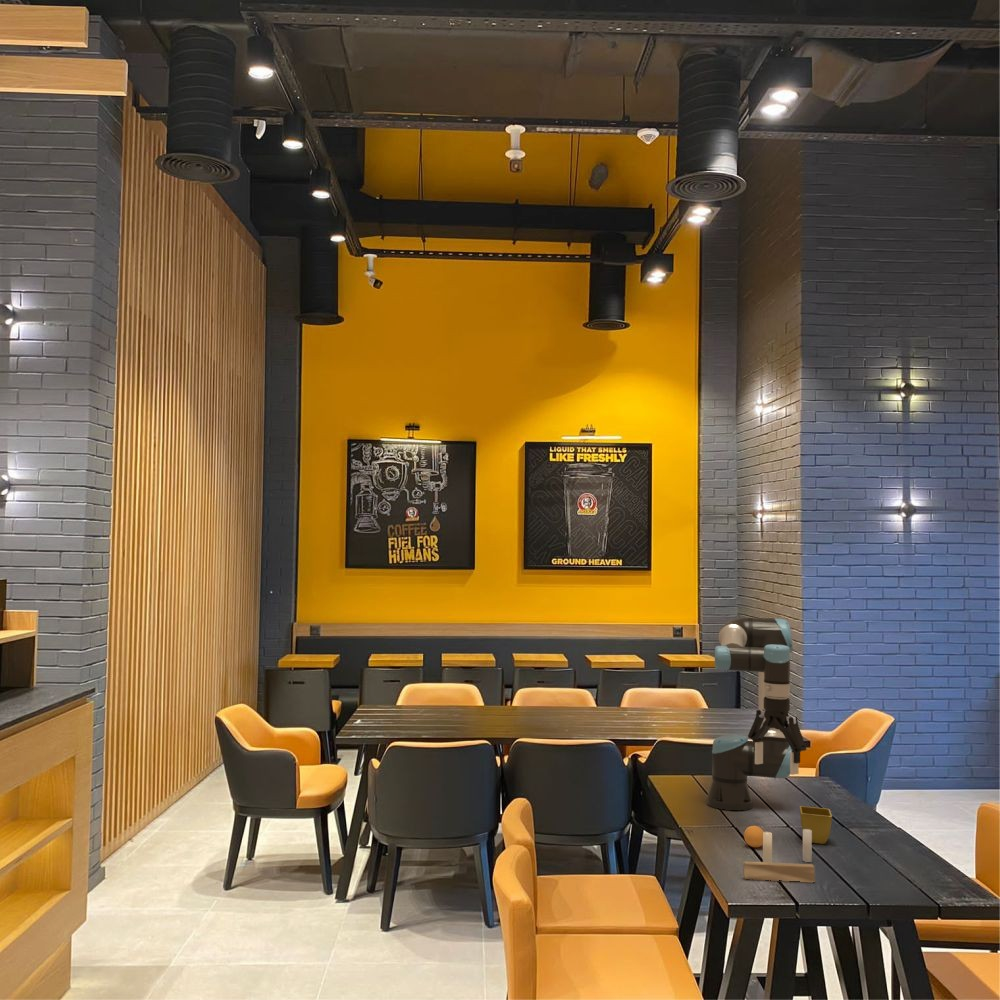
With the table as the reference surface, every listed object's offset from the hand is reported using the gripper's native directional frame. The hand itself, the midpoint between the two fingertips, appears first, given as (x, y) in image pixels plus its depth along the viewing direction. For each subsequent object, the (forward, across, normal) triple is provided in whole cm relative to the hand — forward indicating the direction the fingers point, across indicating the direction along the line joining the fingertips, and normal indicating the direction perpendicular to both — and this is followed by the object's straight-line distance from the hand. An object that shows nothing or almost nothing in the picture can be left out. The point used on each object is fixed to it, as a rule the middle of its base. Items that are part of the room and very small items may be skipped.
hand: (776, 768), depth 269 cm
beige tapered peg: (+22, +15, -4) cm, 27 cm away
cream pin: (+22, +12, -17) cm, 30 cm away
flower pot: (+22, +4, +13) cm, 26 cm away
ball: (+19, 0, -8) cm, 21 cm away
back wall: (+21, +22, -23) cm, 39 cm away
